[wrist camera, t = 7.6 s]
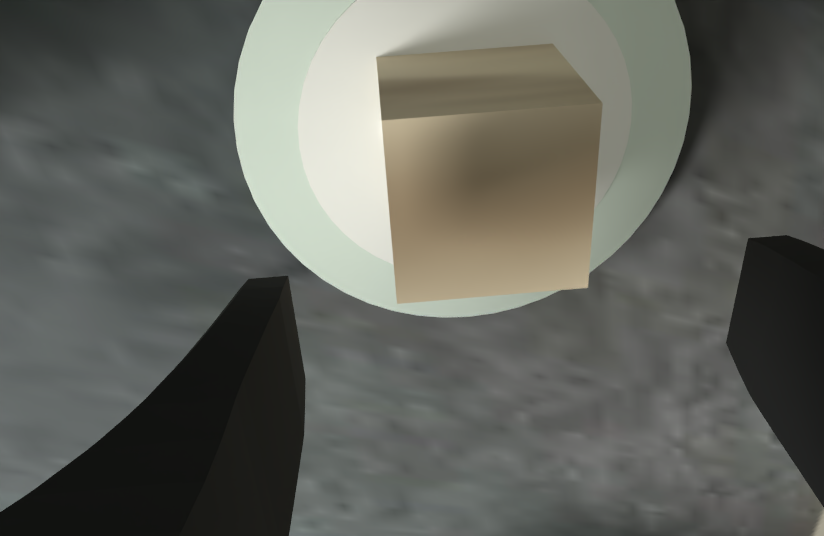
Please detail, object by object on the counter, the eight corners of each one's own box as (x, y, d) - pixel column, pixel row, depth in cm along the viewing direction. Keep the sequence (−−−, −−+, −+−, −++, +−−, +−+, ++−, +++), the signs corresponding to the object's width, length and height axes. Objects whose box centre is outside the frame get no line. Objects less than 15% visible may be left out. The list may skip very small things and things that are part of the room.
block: (545, 201, 19) (588, 288, 16) (389, 214, 19) (397, 303, 15) (552, 43, 17) (602, 103, 13) (376, 57, 17) (381, 120, 13)
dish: (650, 281, 22) (664, 304, 21) (275, 312, 22) (272, 337, 21) (707, -145, 16) (731, -142, 15) (197, -111, 16) (186, -105, 15)
